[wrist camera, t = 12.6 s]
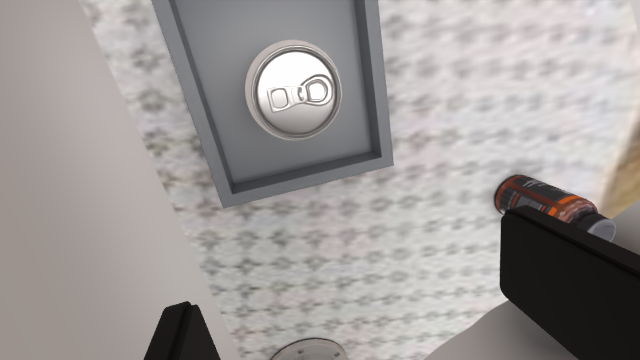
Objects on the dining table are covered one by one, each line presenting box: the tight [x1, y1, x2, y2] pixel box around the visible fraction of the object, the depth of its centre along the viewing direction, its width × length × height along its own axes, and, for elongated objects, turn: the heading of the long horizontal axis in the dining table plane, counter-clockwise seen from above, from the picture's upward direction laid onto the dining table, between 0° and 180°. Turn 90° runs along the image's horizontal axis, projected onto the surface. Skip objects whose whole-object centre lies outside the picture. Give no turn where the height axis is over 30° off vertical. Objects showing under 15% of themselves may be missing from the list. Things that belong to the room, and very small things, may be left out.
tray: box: [152, 0, 394, 208], centre depth 29 cm, size 20×18×4 cm
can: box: [245, 40, 342, 140], centre depth 24 cm, size 6×6×12 cm
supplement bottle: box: [496, 175, 616, 242], centre depth 36 cm, size 6×6×11 cm
